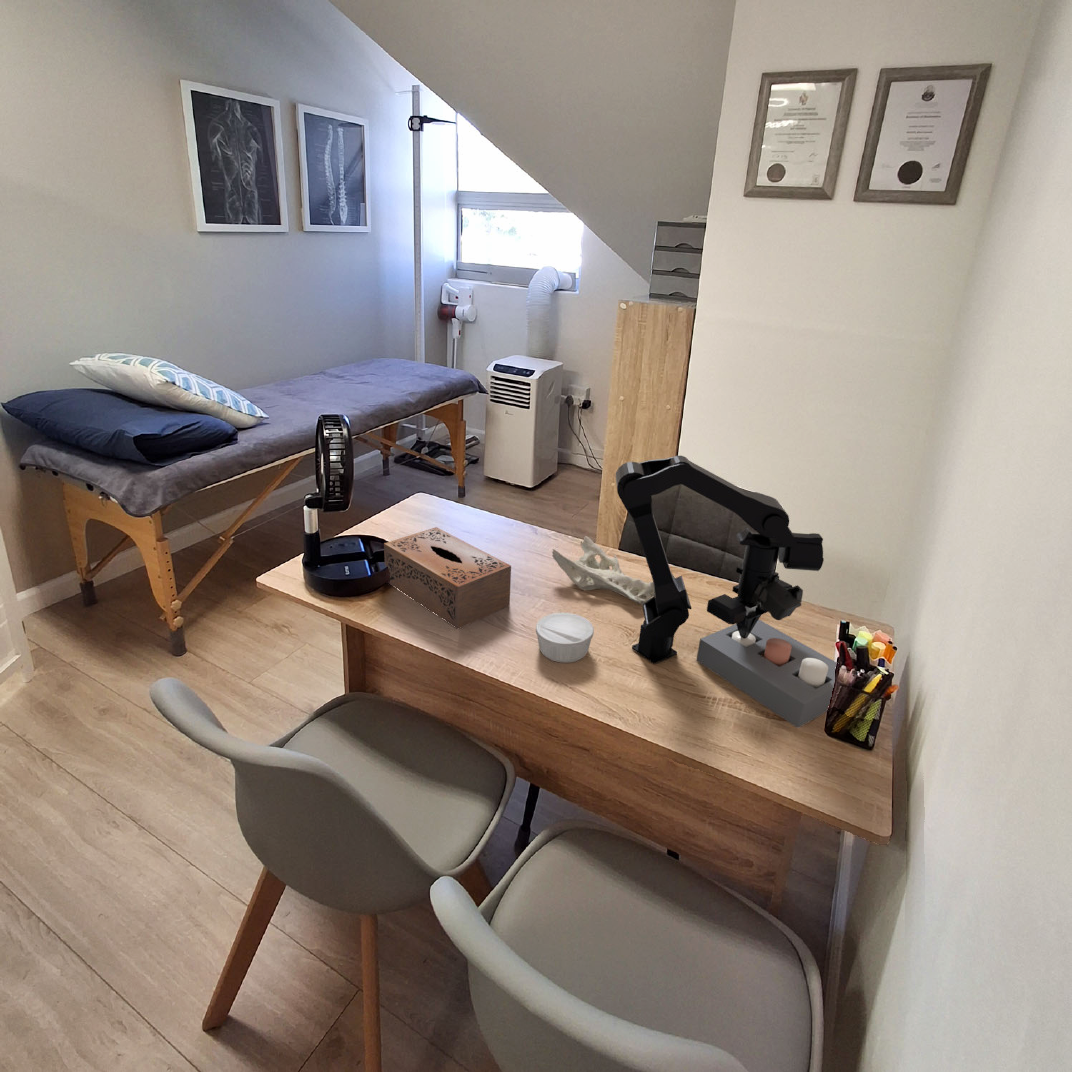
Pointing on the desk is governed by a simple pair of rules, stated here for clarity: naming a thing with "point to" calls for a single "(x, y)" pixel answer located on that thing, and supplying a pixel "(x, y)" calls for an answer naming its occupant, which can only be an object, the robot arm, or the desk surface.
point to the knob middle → (777, 651)
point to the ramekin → (564, 636)
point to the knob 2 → (813, 672)
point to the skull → (602, 573)
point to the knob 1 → (746, 641)
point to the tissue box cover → (448, 576)
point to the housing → (768, 672)
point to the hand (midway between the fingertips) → (743, 637)
